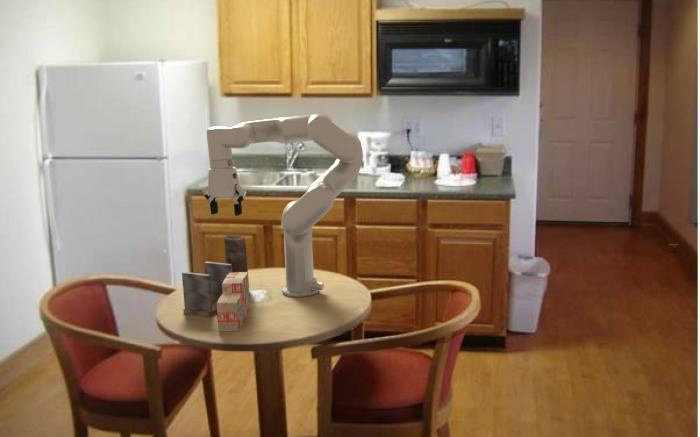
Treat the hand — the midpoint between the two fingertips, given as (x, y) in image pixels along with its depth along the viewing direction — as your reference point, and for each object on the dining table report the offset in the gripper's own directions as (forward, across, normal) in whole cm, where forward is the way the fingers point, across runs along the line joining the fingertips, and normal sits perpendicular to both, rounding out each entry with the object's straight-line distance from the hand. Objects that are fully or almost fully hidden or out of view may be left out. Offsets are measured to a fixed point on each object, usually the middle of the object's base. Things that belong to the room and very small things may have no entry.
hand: (226, 214), depth 258 cm
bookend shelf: (+28, -1, +15) cm, 32 cm away
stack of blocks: (+29, -14, +20) cm, 38 cm away
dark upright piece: (+28, 0, -2) cm, 28 cm away
